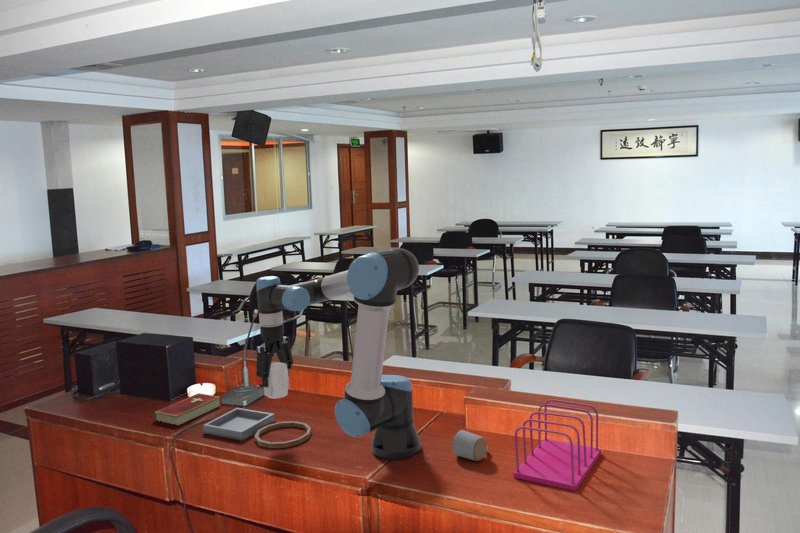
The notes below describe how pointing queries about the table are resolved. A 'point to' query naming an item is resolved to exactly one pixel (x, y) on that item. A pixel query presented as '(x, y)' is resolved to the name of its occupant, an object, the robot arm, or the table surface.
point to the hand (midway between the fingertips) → (277, 391)
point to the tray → (238, 424)
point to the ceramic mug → (469, 445)
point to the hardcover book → (187, 409)
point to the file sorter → (557, 453)
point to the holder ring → (287, 443)
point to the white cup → (278, 380)
